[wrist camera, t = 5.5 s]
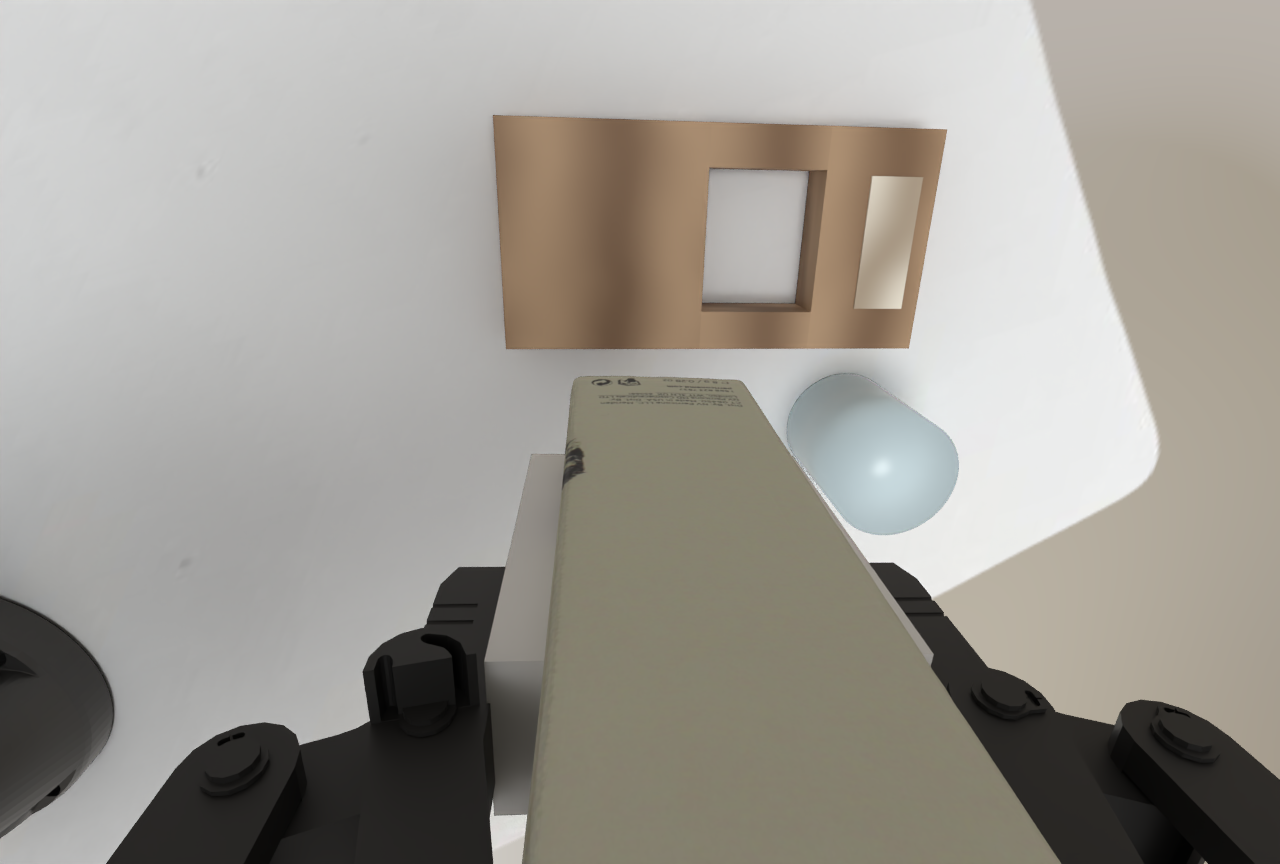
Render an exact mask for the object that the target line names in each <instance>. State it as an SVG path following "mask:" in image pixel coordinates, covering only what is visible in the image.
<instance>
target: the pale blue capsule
mask: <svg viewBox="0 0 1280 864" xmlns="http://www.w3.org/2000/svg"><path fill="white" fill-rule="evenodd" d="M787 439H788V443H789V446H790V448H791V450H792V452H793V454H794V455H795V457H796V458H797V459H798V461H799V462H800V463H801V464H802V466H803V467H804V468H805V470H806V471H807V472H808V473H809V475H810V476H811V477H812V478H813V480H814V481H815V482H816V484H817V485H818V486H819V487H820V489H821V490H822V491H823V493H824V494H825V495H826V496H827V498H828V499H829V500H830V502H831V503H832V504H833V505H834V507H835V508H836V509H837V511H838V512H839V513H840V514H841V516H842V517H843V518H844V519H845V520H846V521H847V522H848V523H849V524H850V525H851V526H853V527H855V528H856V529H858V530H861V531H863V532H866V533H870V534H875V535H892V534H898V533H902V532H905V531H908V530H911V529H913V528H915V527H918V526H919V525H921V524H923V523H924V522H926V521H927V520H929V519H930V518H931V517H933V516H934V515H935V514H936V513H937V512H938V511H939V510H940V509H941V508H942V507H943V505H944V504H945V503H946V501H947V500H948V498H949V497H950V495H951V493H952V491H953V489H954V486H955V484H956V480H957V477H958V470H959V461H958V454H957V451H956V448H955V446H954V444H953V442H952V440H951V439H950V437H949V436H948V435H947V434H946V433H945V432H944V431H943V430H942V429H941V428H939V427H938V426H937V425H935V424H934V423H932V422H931V421H929V420H928V419H926V418H925V417H924V416H922V415H921V414H919V413H918V412H916V411H915V410H913V409H912V408H911V407H909V406H908V405H906V404H905V403H903V402H902V401H900V400H899V399H898V398H896V397H895V396H893V395H892V394H890V393H889V392H887V391H886V390H885V389H883V388H882V387H880V386H879V385H877V384H876V383H874V382H873V381H872V380H870V379H868V378H866V377H863V376H860V375H856V374H837V375H832V376H829V377H826V378H824V379H822V380H819V381H818V382H816V383H814V384H813V385H811V386H810V387H809V388H808V389H806V390H805V391H804V392H803V393H802V394H801V396H800V397H799V398H798V399H797V401H796V402H795V404H794V406H793V408H792V410H791V412H790V415H789V418H788V423H787Z"/></svg>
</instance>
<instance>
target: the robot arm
mask: <svg viewBox="0 0 1280 864" xmlns="http://www.w3.org/2000/svg"><path fill="white" fill-rule="evenodd" d="M792 458H793V459H794V461H795V462H796V464H797V466H798V467H799V468H800V470H801V471H802V473H803V474H804V476H805V477H806V479H807V480H808V482H809V483H810V485H811V486H812V488H813V489H814V491H815V492H816V494H817V495H818V497H819V498H820V500H821V501H822V503H823V504H824V506H825V507H826V509H827V511H828V512H829V514H830V515H831V517H832V518H833V520H834V521H835V523H836V524H837V526H838V527H839V528H840V530H841V531H842V533H843V535H844V536H845V538H846V539H847V541H848V542H849V544H850V545H851V547H852V549H853V550H854V552H855V553H856V555H857V556H858V558H859V559H860V561H861V562H862V564H863V565H864V566H865V568H866V569H867V571H868V572H869V574H870V575H871V577H872V579H873V580H874V582H875V583H876V585H877V586H878V588H879V589H880V591H881V593H882V594H883V596H884V597H885V599H886V600H887V602H888V603H889V604H890V606H891V607H892V609H893V610H894V612H895V613H896V615H897V616H898V618H899V619H900V621H901V622H902V624H903V625H904V627H905V628H906V630H907V631H908V633H909V634H910V636H911V637H912V639H913V640H914V642H915V644H916V645H917V647H918V648H919V650H920V651H921V653H922V654H923V656H924V657H925V659H926V661H927V662H928V664H929V665H930V667H931V668H932V670H933V672H934V673H935V674H936V676H937V677H938V679H939V680H940V681H941V683H942V684H943V686H944V687H945V689H946V690H947V692H948V694H949V695H950V697H951V699H952V700H953V702H954V704H955V705H956V707H957V708H958V709H959V711H960V712H961V714H962V715H963V717H964V718H965V720H966V721H967V722H968V724H969V725H970V727H971V728H972V730H973V731H974V733H975V734H976V736H977V737H978V739H979V740H980V742H981V743H982V745H983V746H984V748H985V749H986V751H987V752H988V754H989V755H990V757H991V758H992V760H993V761H994V763H995V765H996V766H997V768H998V769H999V771H1000V772H1001V774H1002V775H1003V777H1004V778H1005V780H1006V781H1007V783H1008V784H1009V786H1010V787H1011V789H1012V790H1013V792H1014V793H1015V795H1016V796H1017V798H1018V799H1019V801H1020V802H1021V804H1022V805H1023V807H1024V808H1025V810H1026V811H1027V813H1028V814H1029V816H1030V817H1031V819H1032V820H1033V822H1034V823H1035V825H1036V827H1037V828H1038V830H1039V831H1040V833H1041V834H1042V836H1043V837H1044V839H1045V840H1046V842H1047V843H1048V845H1049V846H1050V848H1051V849H1052V851H1053V852H1054V854H1055V855H1056V856H1057V858H1058V859H1059V861H1060V862H1061V864H1204V862H1205V861H1206V862H1207V863H1208V864H1280V780H1279V779H1278V778H1277V777H1276V776H1275V775H1274V774H1272V773H1271V772H1270V771H1269V770H1268V769H1266V768H1265V767H1264V766H1263V765H1262V764H1261V763H1260V762H1258V761H1257V760H1256V759H1255V758H1254V757H1253V756H1252V755H1250V754H1249V753H1248V752H1247V751H1246V750H1245V749H1243V748H1242V747H1241V746H1240V745H1239V744H1238V743H1236V742H1235V741H1234V740H1233V739H1232V738H1231V737H1229V736H1228V735H1227V734H1225V733H1224V732H1222V731H1221V730H1220V729H1218V728H1217V727H1215V726H1214V725H1213V724H1211V723H1210V722H1209V721H1207V720H1205V719H1203V718H1200V717H1199V716H1196V715H1195V714H1192V713H1191V712H1189V711H1187V710H1185V709H1182V708H1179V707H1175V706H1172V705H1169V704H1166V703H1163V702H1157V701H1147V700H1138V701H1134V702H1130V703H1126V705H1125V706H1124V707H1123V709H1122V710H1121V712H1120V714H1119V716H1118V719H1117V721H1116V724H1115V725H1111V724H1106V723H1102V722H1097V721H1092V720H1088V719H1084V718H1079V717H1074V716H1070V715H1065V714H1061V713H1058V712H1055V710H1054V708H1053V707H1052V706H1051V705H1050V703H1049V702H1048V701H1047V700H1046V698H1045V697H1044V696H1043V695H1042V694H1041V693H1040V692H1039V691H1037V690H1036V689H1035V688H1033V687H1032V686H1030V685H1029V684H1028V683H1026V682H1025V681H1023V680H1021V679H1019V678H1017V677H1015V676H1013V675H1010V674H1008V673H1006V672H1003V671H999V670H995V669H991V668H988V667H987V666H986V664H985V663H984V662H983V661H982V659H981V658H980V657H979V656H978V655H977V653H976V652H975V651H974V649H973V648H972V647H971V646H970V645H969V643H968V642H967V641H966V640H965V638H964V637H963V636H962V635H961V633H960V632H959V631H958V630H957V628H956V627H955V626H954V625H953V624H952V622H951V621H950V620H949V618H948V617H947V616H944V612H943V611H942V610H941V608H940V607H939V606H938V605H937V603H936V602H935V601H932V599H931V596H930V595H929V593H928V592H927V591H926V590H925V588H924V587H923V586H922V585H921V583H920V582H919V581H918V580H917V579H916V578H915V577H914V576H912V575H911V574H909V573H908V572H906V571H905V570H903V569H902V568H900V567H899V566H897V565H896V564H894V563H869V562H868V561H867V560H866V558H865V557H864V555H863V554H862V553H861V551H860V550H859V548H858V547H857V546H856V544H855V543H854V541H853V540H852V539H851V537H850V536H849V534H848V533H847V532H846V530H845V529H844V527H843V526H842V525H841V523H840V522H839V520H838V519H837V517H836V516H835V515H834V513H833V512H832V510H831V509H830V508H829V506H828V505H827V503H826V502H825V501H824V499H823V498H822V496H821V495H820V494H819V492H818V491H817V489H816V488H815V487H814V485H813V484H812V482H811V481H810V479H809V478H808V477H807V475H806V474H805V472H804V471H803V470H802V468H801V467H800V465H799V464H798V463H797V461H796V460H795V458H794V457H793V456H792ZM564 460H565V454H531V459H530V463H529V467H528V472H527V476H526V481H525V485H524V489H523V494H522V498H521V502H520V507H519V511H518V516H517V520H516V524H515V529H514V533H513V537H512V542H511V546H510V551H509V555H508V559H507V564H506V567H459V568H457V569H456V570H455V571H454V572H453V573H452V574H451V575H450V576H449V577H448V578H447V579H446V580H445V581H444V582H443V583H441V585H440V587H439V590H438V592H437V595H436V598H435V600H434V603H433V608H431V611H430V614H429V616H428V619H427V625H425V627H424V628H421V629H417V630H413V631H409V632H406V633H402V634H400V635H398V636H396V637H394V638H392V639H390V640H388V641H387V642H385V643H383V644H382V645H381V646H380V647H379V648H378V649H377V650H376V651H375V652H373V653H372V654H371V655H370V656H369V658H368V660H367V663H366V665H365V667H364V670H363V678H364V684H365V691H366V697H367V704H368V710H369V717H370V721H369V722H367V723H366V724H364V725H362V726H360V727H358V728H356V729H353V730H351V731H348V732H345V733H342V734H339V735H336V736H332V737H328V738H325V739H321V740H317V741H314V742H310V743H306V744H303V745H299V743H298V740H297V737H296V734H294V733H293V732H292V731H290V730H289V729H288V728H286V727H285V726H283V725H277V724H271V723H265V722H264V723H257V724H250V725H243V726H239V727H237V728H234V729H232V730H229V731H226V732H224V733H221V734H219V735H216V736H215V737H213V738H212V739H210V740H209V741H207V742H205V743H204V744H202V745H201V746H199V747H198V748H196V749H195V750H193V751H192V752H191V753H190V754H189V755H188V756H187V757H186V758H185V759H184V761H183V762H182V763H181V764H180V765H179V766H178V767H177V768H176V769H175V770H174V772H173V773H172V774H171V776H170V777H169V778H168V780H167V781H166V782H165V784H164V785H163V787H162V788H161V789H160V791H159V792H158V793H157V795H156V796H155V797H154V799H153V800H152V802H151V803H150V804H149V806H148V807H147V808H146V810H145V811H144V813H143V814H142V815H141V817H140V818H139V819H138V821H137V822H136V823H135V825H134V826H133V828H132V829H131V830H130V832H129V833H128V834H127V836H126V837H125V838H124V840H123V841H122V843H121V844H120V845H119V847H118V848H117V849H116V851H115V852H114V853H113V855H112V856H111V858H110V859H109V860H108V862H107V863H106V864H493V856H492V843H491V831H490V819H489V818H490V812H491V806H492V800H493V803H494V816H496V815H525V814H528V806H529V797H530V788H531V779H532V770H533V761H534V752H535V743H536V733H537V724H538V714H539V705H540V696H541V686H542V677H543V667H544V658H545V648H546V638H547V627H548V617H549V607H550V598H551V588H552V578H553V568H554V558H555V549H556V539H557V529H558V519H559V510H560V502H561V492H562V481H563V473H564ZM112 720H113V709H112V702H111V697H110V694H109V690H108V688H107V685H106V683H105V681H104V679H103V677H102V675H101V673H100V671H99V670H98V668H97V667H96V665H95V664H94V662H93V661H92V660H91V658H90V657H89V656H88V655H87V654H86V653H85V651H84V650H83V649H82V648H81V647H80V646H79V645H78V644H77V643H76V642H74V641H73V640H72V639H71V638H70V637H69V636H68V635H66V634H65V633H64V632H63V631H61V630H60V629H58V628H57V627H56V626H54V625H53V624H51V623H50V622H48V621H46V620H45V619H43V618H41V617H40V616H38V615H36V614H34V613H32V612H30V611H28V610H26V609H24V608H22V607H20V606H18V605H15V604H13V603H10V602H8V601H5V600H2V599H0V838H1V837H3V836H4V835H6V834H7V833H8V832H10V831H11V830H13V829H14V828H15V827H17V826H18V825H19V824H21V823H22V822H23V821H24V820H26V819H27V818H28V817H29V816H30V815H32V814H33V813H35V812H37V811H39V810H41V809H42V808H44V807H46V806H47V805H49V804H50V803H51V802H53V801H54V800H56V799H57V798H59V797H60V796H61V795H62V794H63V793H64V792H66V791H67V790H68V789H69V788H70V787H71V786H72V785H73V784H74V783H75V782H76V781H77V779H78V778H79V777H80V776H81V775H82V773H83V772H84V771H85V770H86V769H87V767H88V766H89V765H90V764H91V763H92V762H93V760H94V759H95V758H96V757H97V755H98V754H99V753H100V752H101V750H102V749H103V747H104V746H105V744H106V742H107V740H108V737H109V734H110V731H111V727H112Z"/></svg>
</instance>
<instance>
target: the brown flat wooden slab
mask: <svg viewBox="0 0 1280 864" xmlns="http://www.w3.org/2000/svg"><path fill="white" fill-rule="evenodd" d="M493 124H494V142H495V160H496V178H497V196H498V214H499V232H500V250H501V268H502V286H503V304H504V322H505V340H506V349H793V348H909V344H910V338H911V332H912V327H913V321H914V315H915V310H916V304H917V298H918V293H919V287H920V281H921V276H922V270H923V264H924V259H925V253H926V247H927V241H928V236H929V230H930V224H931V219H932V213H933V207H934V202H935V196H936V190H937V185H938V179H939V173H940V168H941V162H942V156H943V150H944V145H945V139H946V133H947V130H944V129H913V128H881V127H849V126H818V125H786V124H754V123H723V122H691V121H659V120H628V119H596V118H564V117H533V116H501V115H493ZM709 168H710V169H750V170H791V171H809V180H808V190H807V199H806V208H805V218H804V227H803V236H802V245H801V255H800V264H799V273H798V282H797V292H796V301H795V304H787V303H702V290H703V272H704V254H705V236H706V218H707V199H708V181H709Z"/></svg>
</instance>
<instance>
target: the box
mask: <svg viewBox="0 0 1280 864" xmlns="http://www.w3.org/2000/svg"><path fill="white" fill-rule="evenodd" d="M522 864H1061V862H1060V861H1059V859H1058V858H1057V856H1056V855H1055V854H1054V852H1053V851H1052V849H1051V848H1050V846H1049V845H1048V843H1047V842H1046V840H1045V839H1044V837H1043V836H1042V834H1041V833H1040V831H1039V830H1038V828H1037V827H1036V825H1035V823H1034V822H1033V820H1032V819H1031V817H1030V816H1029V814H1028V813H1027V811H1026V810H1025V808H1024V807H1023V805H1022V804H1021V802H1020V801H1019V799H1018V798H1017V796H1016V795H1015V793H1014V792H1013V790H1012V789H1011V787H1010V786H1009V784H1008V783H1007V781H1006V780H1005V778H1004V777H1003V775H1002V774H1001V772H1000V771H999V769H998V768H997V766H996V765H995V763H994V761H993V760H992V758H991V757H990V755H989V754H988V752H987V751H986V749H985V748H984V746H983V745H982V743H981V742H980V740H979V739H978V737H977V736H976V734H975V733H974V731H973V730H972V728H971V727H970V725H969V724H968V722H967V721H966V720H965V718H964V717H963V715H962V714H961V712H960V711H959V709H958V708H957V707H956V705H955V704H954V702H953V700H952V699H951V697H950V695H949V694H948V692H947V690H946V689H945V687H944V686H943V684H942V683H941V681H940V680H939V679H938V677H937V676H936V674H935V673H934V672H933V670H932V668H931V667H930V665H929V664H928V662H927V661H926V659H925V657H924V656H923V654H922V653H921V651H920V650H919V648H918V647H917V645H916V644H915V642H914V640H913V639H912V637H911V636H910V634H909V633H908V631H907V630H906V628H905V627H904V625H903V624H902V622H901V621H900V619H899V618H898V616H897V615H896V613H895V612H894V610H893V609H892V607H891V606H890V604H889V603H888V602H887V600H886V599H885V597H884V596H883V594H882V593H881V591H880V589H879V588H878V586H877V585H876V583H875V582H874V580H873V579H872V577H871V575H870V574H869V572H868V571H867V569H866V568H865V566H864V565H863V564H862V562H861V561H860V559H859V558H858V556H857V555H856V553H855V552H854V550H853V549H852V547H851V545H850V544H849V542H848V541H847V539H846V538H845V536H844V535H843V533H842V531H841V530H840V528H839V527H838V526H837V524H836V523H835V521H834V520H833V518H832V517H831V515H830V514H829V512H828V511H827V509H826V507H825V506H824V504H823V503H822V501H821V500H820V498H819V497H818V495H817V494H816V492H815V491H814V489H813V488H812V486H811V485H810V483H809V482H808V480H807V479H806V477H805V476H804V474H803V473H802V471H801V470H800V468H799V467H798V466H797V464H796V462H795V461H794V459H793V458H792V456H791V455H790V453H789V452H788V450H787V449H786V447H785V446H784V444H783V443H782V441H781V440H780V438H779V437H778V435H777V434H776V432H775V431H774V429H773V428H772V426H771V424H770V423H769V421H768V420H767V418H766V417H765V415H764V413H763V412H762V410H761V409H760V407H759V406H758V404H757V403H756V401H755V400H754V398H753V397H752V395H751V394H750V392H749V391H748V389H747V388H746V386H745V385H744V384H743V382H741V381H738V380H719V379H703V378H676V377H636V376H585V377H578V378H576V379H575V380H574V382H573V386H572V391H571V398H570V409H569V420H568V430H567V440H566V450H565V460H564V473H563V481H562V492H561V502H560V510H559V519H558V529H557V539H556V549H555V558H554V568H553V578H552V588H551V598H550V607H549V617H548V627H547V638H546V648H545V658H544V667H543V677H542V686H541V696H540V705H539V714H538V724H537V733H536V743H535V752H534V761H533V770H532V779H531V788H530V797H529V806H528V815H527V824H526V832H525V842H524V851H523V859H522Z"/></svg>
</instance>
